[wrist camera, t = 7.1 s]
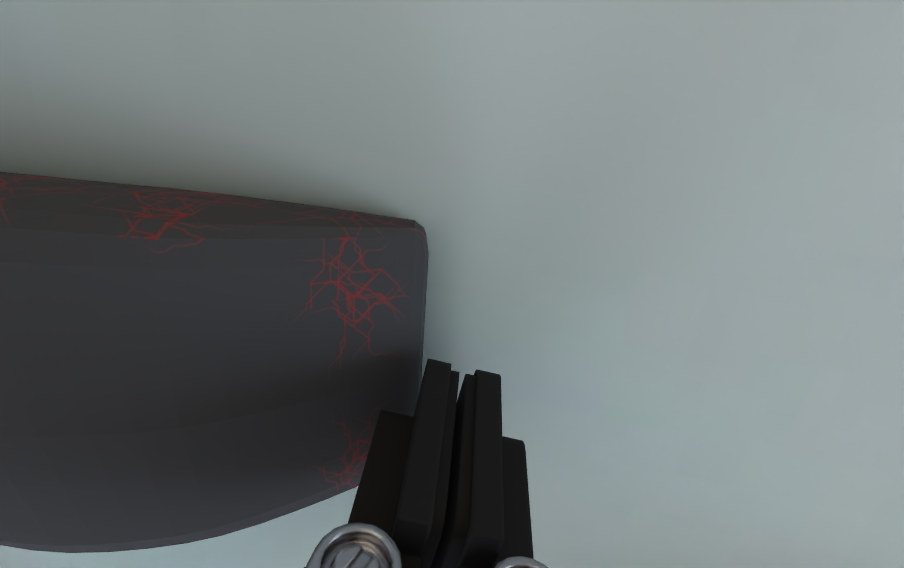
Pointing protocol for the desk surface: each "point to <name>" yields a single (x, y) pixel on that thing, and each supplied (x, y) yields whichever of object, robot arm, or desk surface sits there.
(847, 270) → the desk surface
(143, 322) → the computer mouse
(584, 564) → the desk surface
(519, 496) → the robot arm
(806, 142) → the desk surface
